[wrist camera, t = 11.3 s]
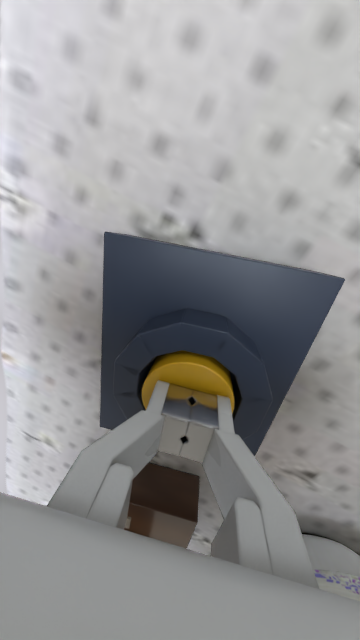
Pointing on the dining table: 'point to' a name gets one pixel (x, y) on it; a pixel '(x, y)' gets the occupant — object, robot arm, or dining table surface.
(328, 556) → the paper bowls
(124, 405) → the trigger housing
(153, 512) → the panel
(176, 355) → the button
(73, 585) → the robot arm
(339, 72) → the dining table surface
